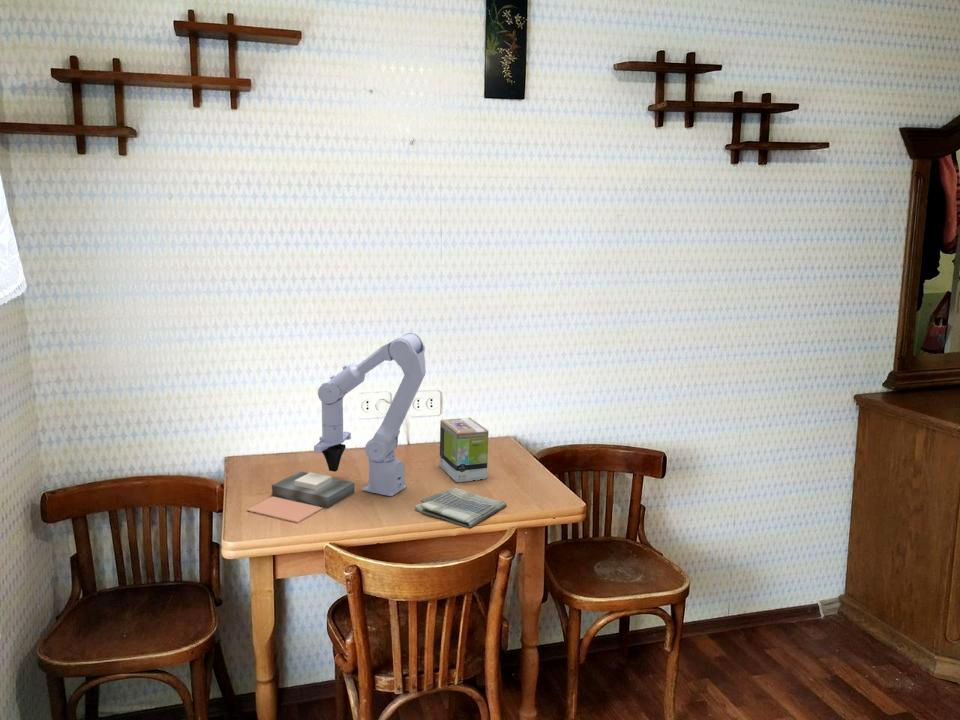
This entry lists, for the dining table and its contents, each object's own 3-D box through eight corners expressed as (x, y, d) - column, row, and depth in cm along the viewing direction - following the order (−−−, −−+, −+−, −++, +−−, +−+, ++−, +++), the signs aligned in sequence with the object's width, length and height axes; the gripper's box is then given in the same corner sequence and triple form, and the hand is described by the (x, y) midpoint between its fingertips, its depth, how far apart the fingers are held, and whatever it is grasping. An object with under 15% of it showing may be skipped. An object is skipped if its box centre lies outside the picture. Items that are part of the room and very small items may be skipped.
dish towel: (508, 508, 202) (509, 496, 201) (469, 531, 188) (470, 518, 187) (451, 492, 212) (452, 481, 212) (410, 512, 198) (410, 500, 197)
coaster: (332, 481, 208) (331, 476, 207) (316, 490, 202) (316, 484, 201) (310, 477, 211) (310, 472, 210) (294, 485, 204) (294, 480, 204)
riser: (354, 492, 208) (354, 482, 208) (328, 508, 198) (327, 497, 197) (300, 481, 216) (300, 471, 215) (272, 495, 205) (271, 485, 204)
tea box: (488, 479, 221) (489, 430, 218) (455, 483, 217) (456, 433, 214) (469, 462, 234) (470, 415, 231) (438, 466, 231) (439, 418, 228)
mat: (322, 509, 197) (322, 507, 197) (298, 523, 188) (298, 521, 188) (272, 497, 204) (272, 496, 204) (246, 511, 195) (246, 509, 195)
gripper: (336, 415, 219) (336, 460, 222) (304, 428, 206) (305, 476, 209) (356, 418, 216) (357, 464, 219) (326, 432, 204) (326, 480, 206)
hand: (333, 470), depth 214 cm, fingers closed
